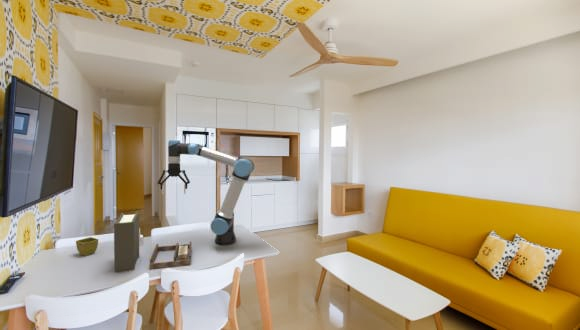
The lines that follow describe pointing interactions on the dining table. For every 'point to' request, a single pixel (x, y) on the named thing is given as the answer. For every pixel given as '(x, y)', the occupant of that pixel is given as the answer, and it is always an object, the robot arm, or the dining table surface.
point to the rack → (171, 263)
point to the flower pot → (87, 246)
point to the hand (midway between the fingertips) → (174, 194)
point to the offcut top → (182, 251)
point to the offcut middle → (183, 258)
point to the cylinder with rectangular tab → (140, 239)
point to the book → (126, 242)
